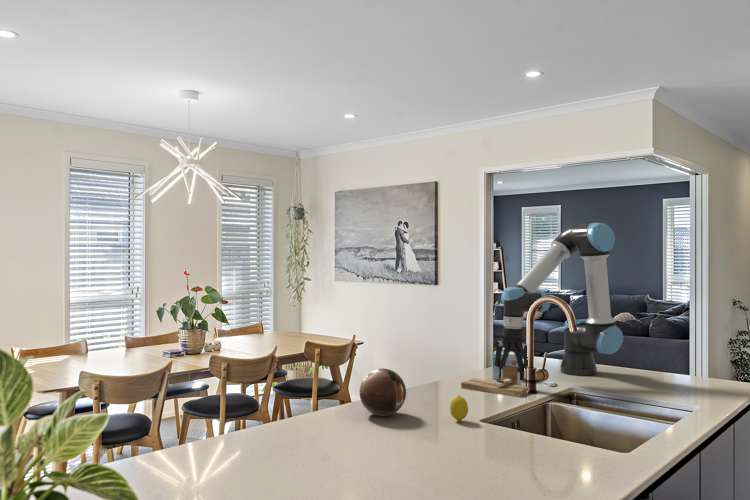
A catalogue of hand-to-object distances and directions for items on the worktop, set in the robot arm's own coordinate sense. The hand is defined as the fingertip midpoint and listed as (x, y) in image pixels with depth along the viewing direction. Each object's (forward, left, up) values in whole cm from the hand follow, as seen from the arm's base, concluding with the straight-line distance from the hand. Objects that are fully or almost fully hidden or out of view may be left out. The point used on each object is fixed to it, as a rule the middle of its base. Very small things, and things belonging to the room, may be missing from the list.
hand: (511, 386), depth 228 cm
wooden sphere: (+61, -16, -1) cm, 63 cm away
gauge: (+5, 0, 0) cm, 5 cm away
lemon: (+52, +7, -1) cm, 52 cm away
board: (+7, -3, 0) cm, 8 cm away
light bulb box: (-15, -9, -1) cm, 18 cm away
